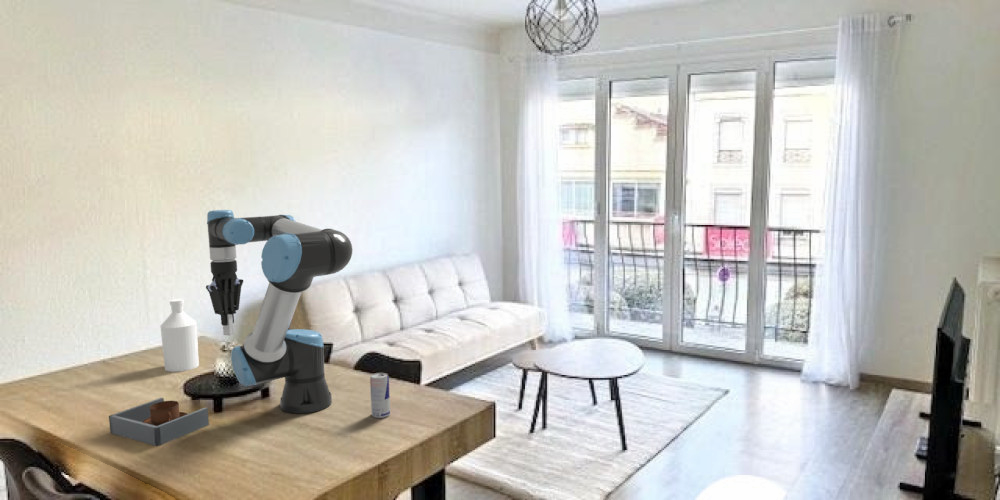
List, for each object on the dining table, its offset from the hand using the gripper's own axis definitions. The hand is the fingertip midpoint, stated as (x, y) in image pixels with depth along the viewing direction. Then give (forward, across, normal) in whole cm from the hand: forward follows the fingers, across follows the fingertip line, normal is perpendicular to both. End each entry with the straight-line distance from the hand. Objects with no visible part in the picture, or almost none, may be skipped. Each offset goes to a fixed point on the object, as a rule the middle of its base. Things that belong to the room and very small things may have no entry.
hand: (228, 334), depth 209 cm
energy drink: (+21, -5, +52) cm, 57 cm away
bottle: (+21, -18, -43) cm, 51 cm away
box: (+21, +27, 0) cm, 34 cm away
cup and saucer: (+21, +24, 0) cm, 32 cm away
